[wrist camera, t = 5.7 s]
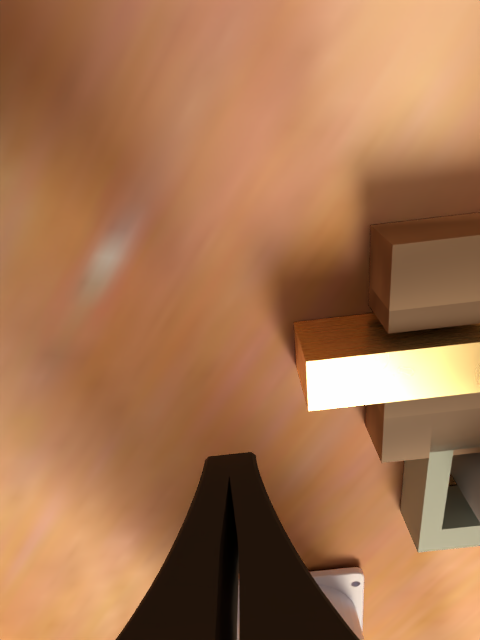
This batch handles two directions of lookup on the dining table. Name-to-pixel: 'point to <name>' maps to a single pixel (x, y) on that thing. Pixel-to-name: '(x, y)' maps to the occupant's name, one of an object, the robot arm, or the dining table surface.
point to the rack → (442, 499)
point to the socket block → (425, 325)
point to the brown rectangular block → (383, 362)
